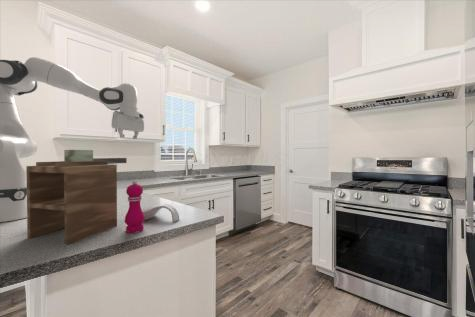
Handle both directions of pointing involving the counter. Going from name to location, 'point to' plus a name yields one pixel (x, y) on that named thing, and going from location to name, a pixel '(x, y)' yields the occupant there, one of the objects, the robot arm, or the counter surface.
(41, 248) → the counter surface
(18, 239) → the counter surface
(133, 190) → the pepper mill
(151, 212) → the spoon rest
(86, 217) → the walnut shelf
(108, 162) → the block
